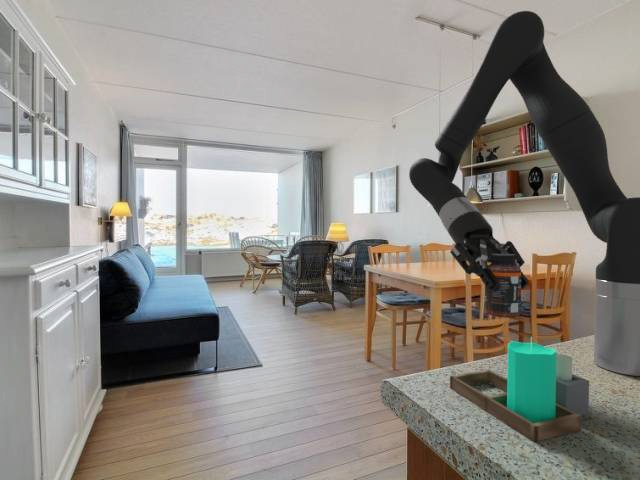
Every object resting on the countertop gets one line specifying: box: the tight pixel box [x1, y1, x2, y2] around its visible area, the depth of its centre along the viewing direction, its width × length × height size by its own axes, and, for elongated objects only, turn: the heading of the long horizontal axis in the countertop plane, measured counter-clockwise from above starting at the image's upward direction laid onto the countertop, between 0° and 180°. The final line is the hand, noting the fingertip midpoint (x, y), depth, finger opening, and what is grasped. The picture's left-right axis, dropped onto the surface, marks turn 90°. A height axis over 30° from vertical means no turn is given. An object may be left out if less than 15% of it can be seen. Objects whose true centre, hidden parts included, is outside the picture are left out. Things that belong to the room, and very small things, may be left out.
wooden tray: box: [449, 369, 582, 443], centre depth 54 cm, size 8×16×2 cm, turn 18°
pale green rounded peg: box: [556, 353, 573, 382], centre depth 52 cm, size 2×2×6 cm
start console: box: [556, 373, 590, 417], centre depth 53 cm, size 5×5×5 cm
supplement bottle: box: [484, 254, 522, 319], centre depth 64 cm, size 6×6×11 cm
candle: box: [506, 336, 558, 423], centre depth 50 cm, size 6×6×12 cm
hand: (510, 287), depth 62 cm, fingers closed on supplement bottle, 6 cm apart
